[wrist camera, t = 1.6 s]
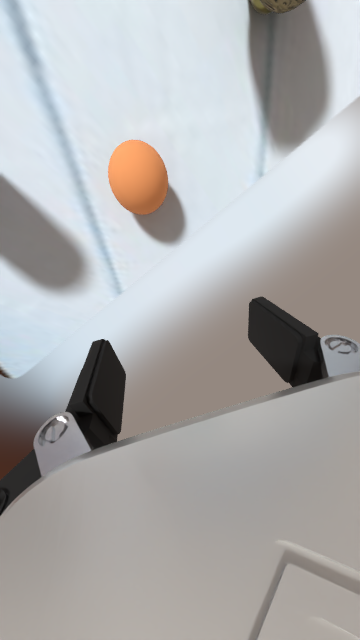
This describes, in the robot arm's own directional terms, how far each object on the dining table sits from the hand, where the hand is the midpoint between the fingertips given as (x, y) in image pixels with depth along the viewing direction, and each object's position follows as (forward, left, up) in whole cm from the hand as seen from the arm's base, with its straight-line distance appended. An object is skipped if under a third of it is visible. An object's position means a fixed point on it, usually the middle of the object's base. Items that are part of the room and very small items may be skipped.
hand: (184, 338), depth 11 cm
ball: (0, -9, -14) cm, 17 cm away
